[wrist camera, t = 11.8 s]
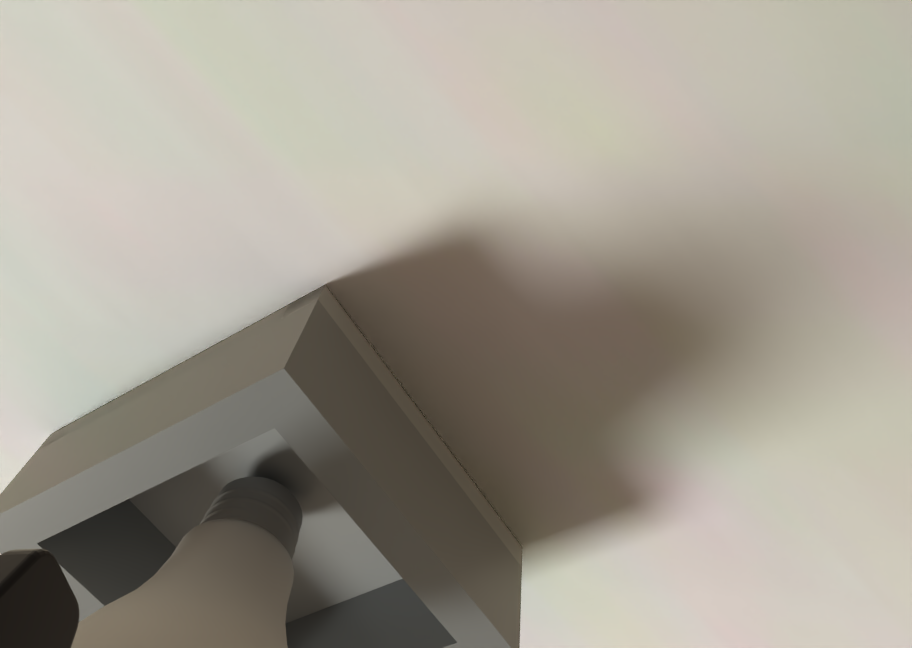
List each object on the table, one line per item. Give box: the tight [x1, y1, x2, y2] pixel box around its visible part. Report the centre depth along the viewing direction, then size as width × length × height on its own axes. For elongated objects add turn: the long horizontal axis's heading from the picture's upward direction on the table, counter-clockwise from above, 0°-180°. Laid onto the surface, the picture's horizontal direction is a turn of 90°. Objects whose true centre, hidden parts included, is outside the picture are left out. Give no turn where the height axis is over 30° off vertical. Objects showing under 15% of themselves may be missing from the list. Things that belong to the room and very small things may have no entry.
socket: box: [0, 285, 522, 648], centre depth 24 cm, size 10×10×4 cm
